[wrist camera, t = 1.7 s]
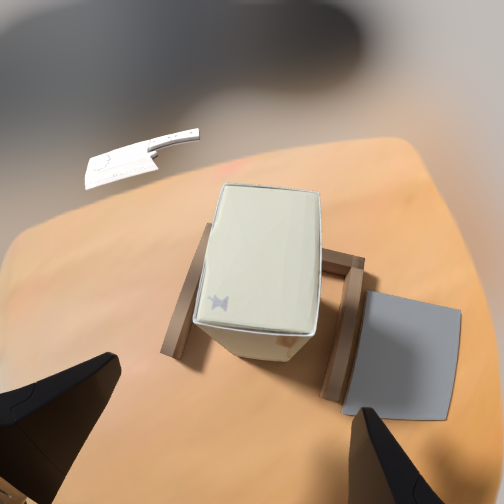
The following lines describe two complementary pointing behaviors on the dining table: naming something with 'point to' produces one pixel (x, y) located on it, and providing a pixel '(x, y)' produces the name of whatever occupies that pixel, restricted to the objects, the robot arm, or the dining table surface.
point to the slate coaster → (404, 359)
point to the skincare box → (262, 271)
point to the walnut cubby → (344, 328)
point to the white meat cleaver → (132, 159)
